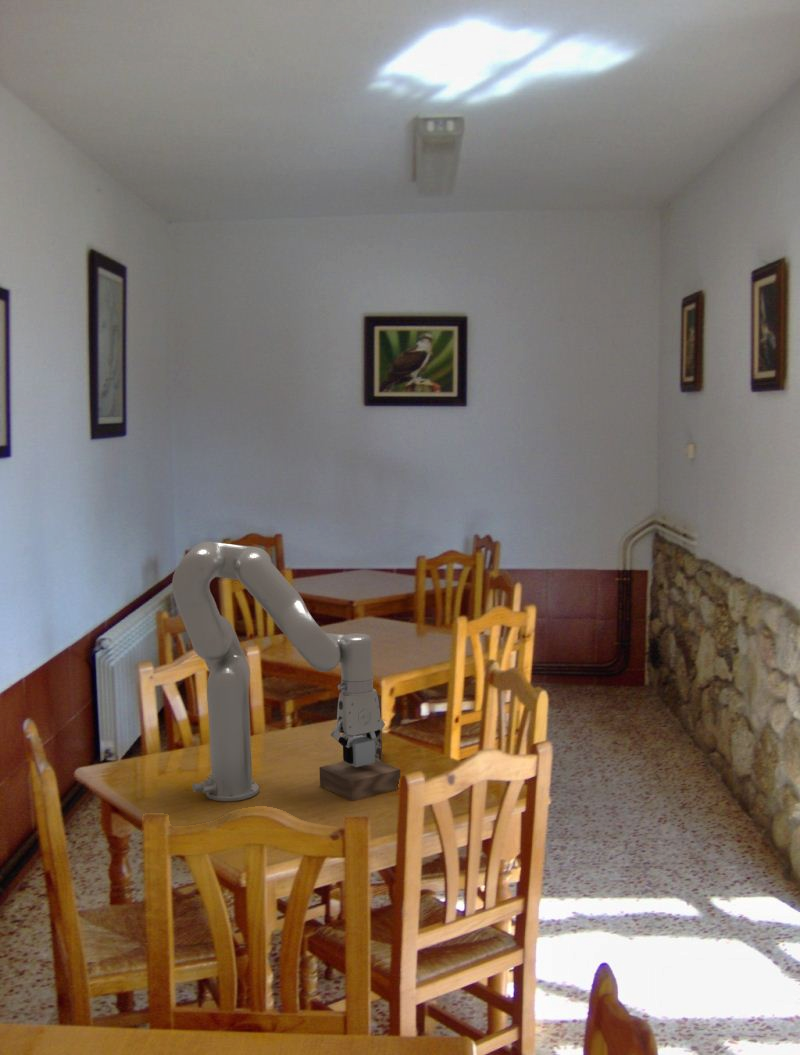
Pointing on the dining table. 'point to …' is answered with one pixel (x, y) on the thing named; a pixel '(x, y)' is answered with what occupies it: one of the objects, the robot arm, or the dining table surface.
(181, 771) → the dining table surface
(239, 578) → the robot arm
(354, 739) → the grey blue cube
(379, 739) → the coffee box
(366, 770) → the walnut block
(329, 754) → the dining table surface
